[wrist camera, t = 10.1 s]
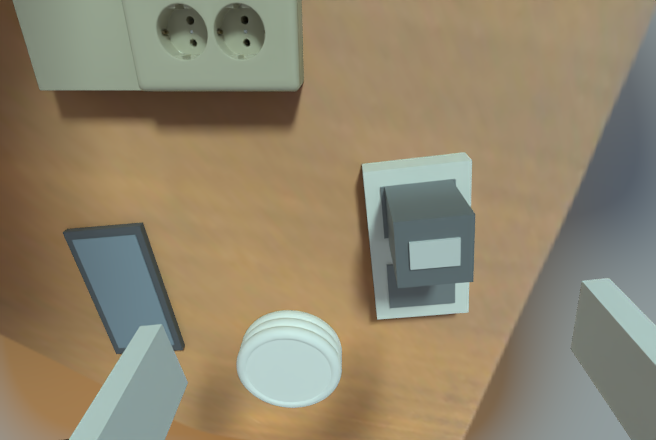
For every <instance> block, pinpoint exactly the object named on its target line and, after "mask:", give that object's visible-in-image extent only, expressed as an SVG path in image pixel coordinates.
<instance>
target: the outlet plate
mask: <svg viewBox="0 0 656 440" xmlns="http://www.w3.org/2000/svg"><path fill="white" fill-rule="evenodd" d="M362 171H363V181H364V191H365V201H366V211H367V221H368V231H369V242H370V252H371V262H372V272H373V282H374V292H375V302H376V312H377V320H378V319H390V318H403V317H416V316H429V315H441V314H454V313H467V312H468V308H469V282H465V283H453V284H441V285H429V286H418V287H406V288H397V283H396V277H395V272H394V267H393V262H392V257H391V252H390V247H389V238H388V225H387V211H386V198H385V187H391V186H400V185H410V184H419V183H428V182H438V181H447V180H452V181H453V182H454V184H455V185H456V187H457V188H458V190H459V191H460V192H461V194H462V195H463V197H464V198H465V200H466V201H467V203H468V204H469V206H470V207H471V179H472V160H471V159H470V158H469V156H468V155H467V154H466V153H465V152H463V153H455V154H446V155H437V156H428V157H419V158H410V159H401V160H393V161H384V162H375V163H366V164H362Z"/></svg>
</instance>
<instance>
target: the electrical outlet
mask: <svg viewBox="0 0 656 440" xmlns="http://www.w3.org/2000/svg"><path fill="white" fill-rule="evenodd" d="M13 3H14V7H15V10H16V13H17V17H18V20H19V23H20V26H21V30H22V33H23V36H24V40H25V43H26V46H27V49H28V53H29V56H30V59H31V63H32V66H33V69H34V73H35V76H36V79H37V82H38V86H39V89H40V90H143V91H297V90H298V89H299V88H300V87H301V85H302V84H303V82H304V61H303V27H302V0H13ZM247 18H248V20H249V21H247ZM249 41H250V43H249Z"/></svg>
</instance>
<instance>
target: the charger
mask: <svg viewBox="0 0 656 440" xmlns="http://www.w3.org/2000/svg"><path fill="white" fill-rule="evenodd" d="M385 198H386V211H387V225H388V238H389V247H390V252H391V257H392V262H393V267H394V272H395V277H396V283H397V288H406V287H418V286H429V285H441V284H453V283H465V282H473V271H474V237H475V213H474V212H473V210H472V209H471V207H470V206H469V204H468V203H467V201H466V200H465V198H464V197H463V195H462V194H461V192H460V191H459V190H458V188H457V187H456V185H455V184H454V182H453V181H452V180H447V181H438V182H428V183H419V184H410V185H400V186H391V187H385Z"/></svg>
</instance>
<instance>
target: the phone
mask: <svg viewBox="0 0 656 440" xmlns="http://www.w3.org/2000/svg"><path fill="white" fill-rule="evenodd" d="M63 234H64V237H65V239H66V241H67V243H68V246H69V248H70V250H71V252H72V255H73V257H74V259H75V261H76V264H77V266H78V268H79V270H80V273H81V275H82V277H83V280H84V282H85V284H86V286H87V289H88V291H89V293H90V295H91V298H92V300H93V302H94V304H95V307H96V309H97V311H98V313H99V316H100V318H101V320H102V322H103V325H104V327H105V329H106V331H107V334H108V336H109V338H110V340H111V343H112V345H113V347H114V350H115V352H116V354H121V353H123V352H124V351H125V349H126V348H127V346H128V344H129V343H130V341H131V340H132V338H133V336H134V335H135V333H136V332H137V330H138V328H139V327H140V326H147V325H157V324H162V325H163V327H164V330H165V332H166V334H167V336H168V339H169V341H170V343H171V346H172V348H173V350H183V348H184V346H185V344H184V341H183V338H182V335H181V332H180V329H179V326H178V323H177V321H176V318H175V315H174V312H173V309H172V306H171V303H170V300H169V297H168V294H167V291H166V289H165V286H164V283H163V280H162V277H161V274H160V271H159V268H158V265H157V262H156V259H155V257H154V254H153V251H152V248H151V245H150V242H149V239H148V236H147V233H146V230H145V227H144V225H143V223H131V224H120V225H108V226H97V227H85V228H74V229H66V230H65V231H64V232H63Z"/></svg>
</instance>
